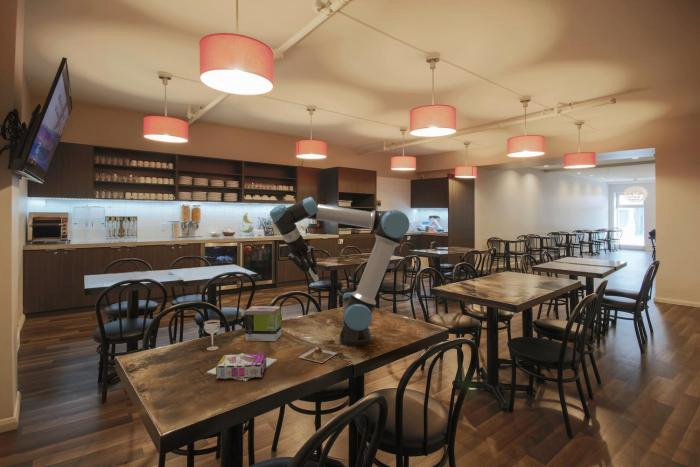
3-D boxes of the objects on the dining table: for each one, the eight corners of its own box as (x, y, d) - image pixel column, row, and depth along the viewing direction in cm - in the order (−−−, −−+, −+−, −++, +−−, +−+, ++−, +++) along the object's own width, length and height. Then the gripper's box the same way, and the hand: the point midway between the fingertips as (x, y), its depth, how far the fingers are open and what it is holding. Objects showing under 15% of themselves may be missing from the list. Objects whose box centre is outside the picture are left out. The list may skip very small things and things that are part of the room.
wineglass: (215, 351, 157) (214, 324, 156) (201, 350, 158) (200, 323, 158) (223, 346, 164) (223, 320, 163) (210, 345, 165) (209, 319, 164)
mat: (277, 360, 147) (277, 359, 147) (245, 381, 128) (245, 380, 128) (241, 354, 154) (241, 353, 154) (206, 373, 135) (206, 371, 135)
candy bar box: (262, 364, 130) (215, 366, 128) (262, 377, 130) (215, 380, 129) (266, 352, 141) (223, 354, 140) (266, 364, 141) (223, 366, 140)
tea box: (281, 335, 179) (281, 305, 178) (275, 342, 169) (275, 311, 168) (252, 334, 180) (251, 305, 180) (244, 341, 170) (244, 310, 170)
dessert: (337, 355, 154) (337, 344, 154) (322, 365, 143) (322, 353, 143) (314, 350, 160) (314, 339, 159) (298, 359, 149) (297, 348, 149)
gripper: (278, 247, 155) (302, 288, 164) (304, 237, 152) (328, 280, 161) (282, 239, 162) (305, 279, 171) (307, 229, 158) (330, 271, 168)
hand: (316, 280), depth 166 cm, fingers closed
